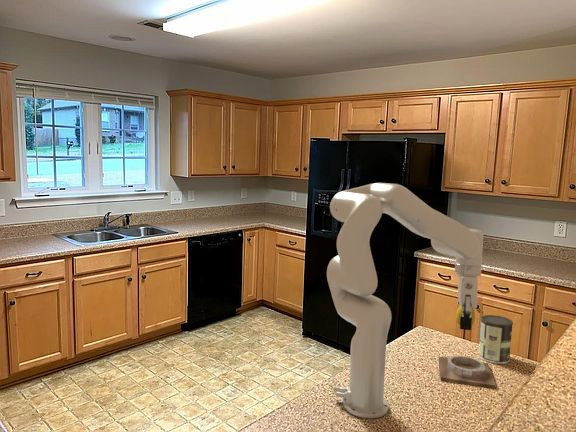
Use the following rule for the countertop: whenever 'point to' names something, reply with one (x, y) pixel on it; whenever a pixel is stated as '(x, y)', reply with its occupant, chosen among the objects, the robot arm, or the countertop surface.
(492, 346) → the coffee can
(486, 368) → the walnut board
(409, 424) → the countertop surface
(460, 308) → the lemon
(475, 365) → the steel ring
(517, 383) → the countertop surface
